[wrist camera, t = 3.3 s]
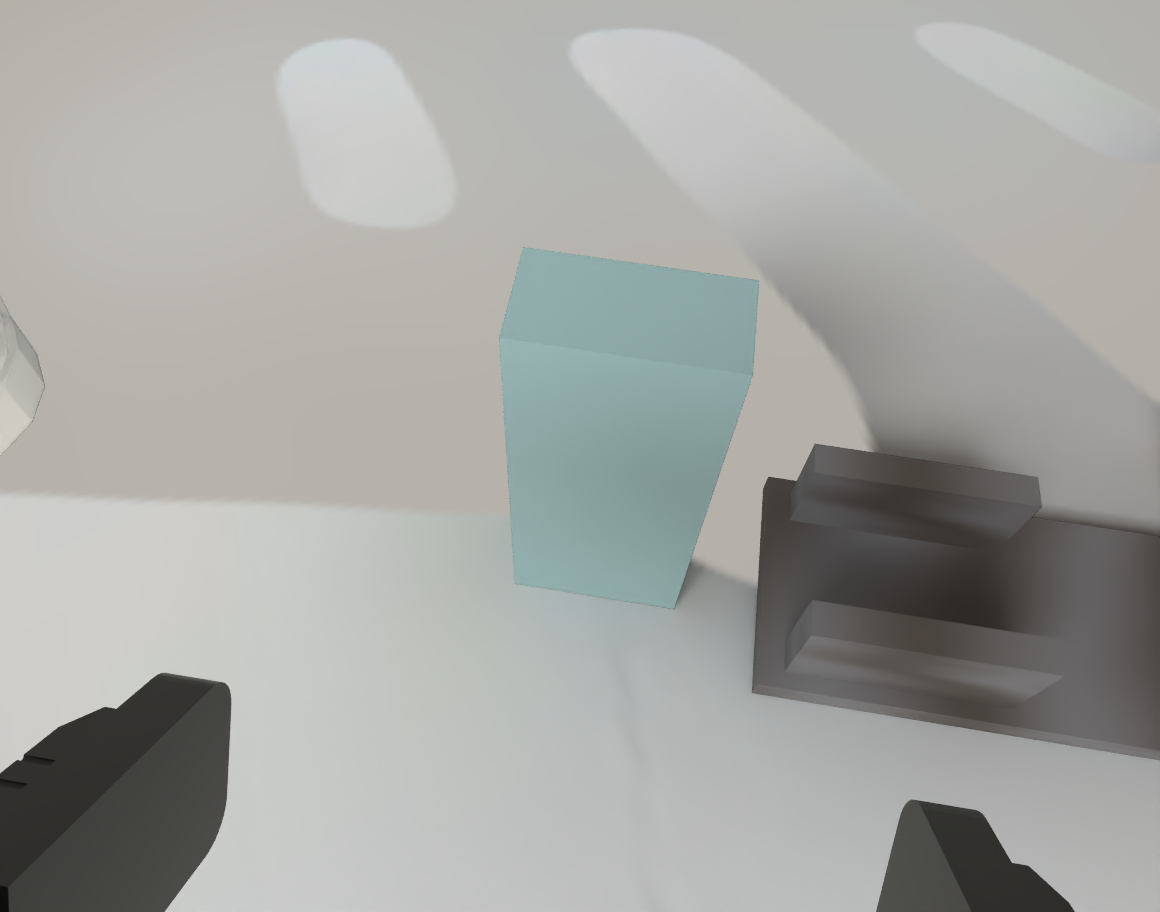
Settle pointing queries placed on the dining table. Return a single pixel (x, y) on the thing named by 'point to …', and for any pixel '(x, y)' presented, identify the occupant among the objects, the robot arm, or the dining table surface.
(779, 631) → the hinge cabinet
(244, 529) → the dining table surface
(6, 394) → the white cup
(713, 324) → the tall teal block
